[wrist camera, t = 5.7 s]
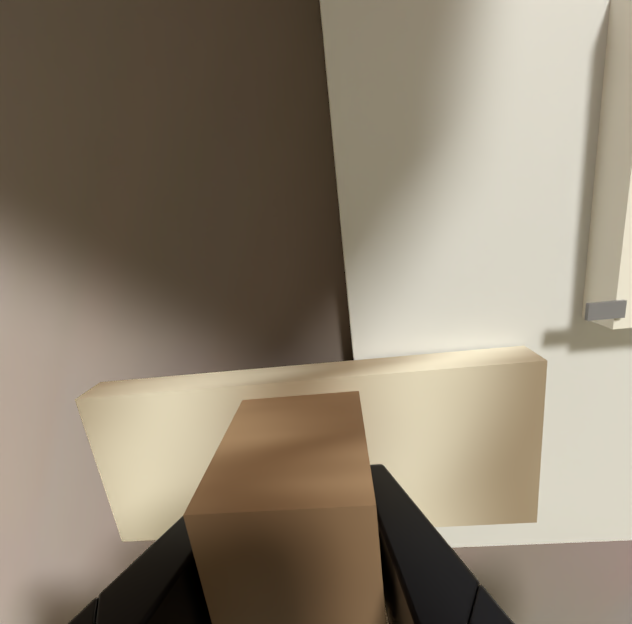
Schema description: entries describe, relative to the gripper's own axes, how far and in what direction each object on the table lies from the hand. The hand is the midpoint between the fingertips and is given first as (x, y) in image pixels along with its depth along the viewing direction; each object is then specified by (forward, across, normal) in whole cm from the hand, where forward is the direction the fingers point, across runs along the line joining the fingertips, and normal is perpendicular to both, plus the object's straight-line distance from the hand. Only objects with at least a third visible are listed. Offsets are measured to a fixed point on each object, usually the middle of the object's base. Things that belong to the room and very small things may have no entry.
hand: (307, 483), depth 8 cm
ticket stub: (+2, 0, 0) cm, 2 cm away
